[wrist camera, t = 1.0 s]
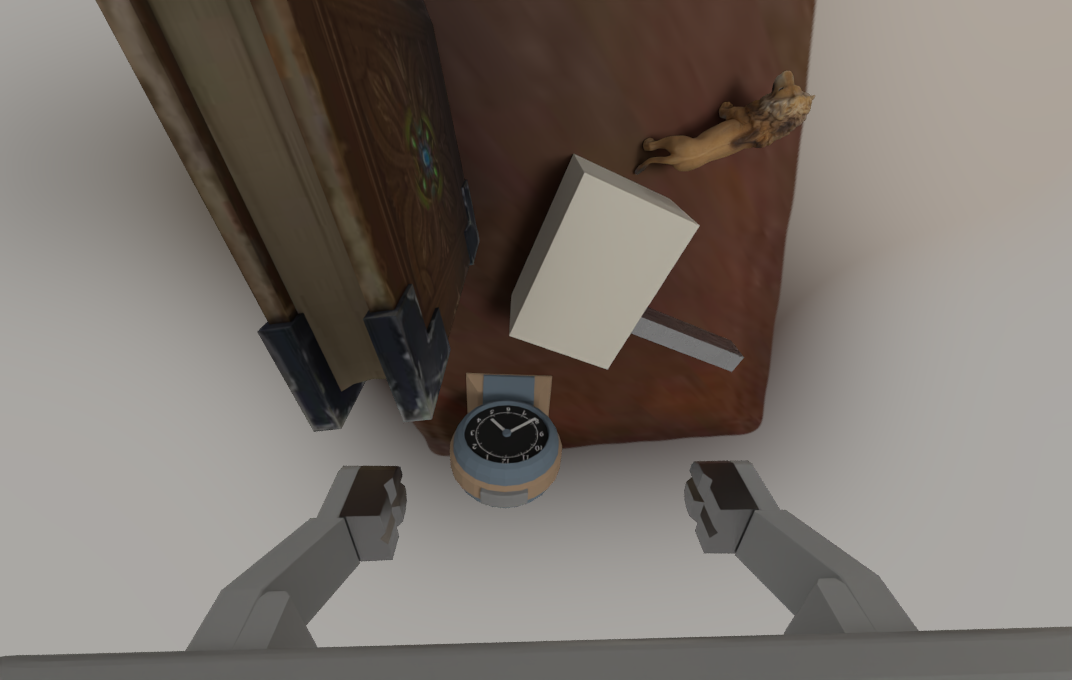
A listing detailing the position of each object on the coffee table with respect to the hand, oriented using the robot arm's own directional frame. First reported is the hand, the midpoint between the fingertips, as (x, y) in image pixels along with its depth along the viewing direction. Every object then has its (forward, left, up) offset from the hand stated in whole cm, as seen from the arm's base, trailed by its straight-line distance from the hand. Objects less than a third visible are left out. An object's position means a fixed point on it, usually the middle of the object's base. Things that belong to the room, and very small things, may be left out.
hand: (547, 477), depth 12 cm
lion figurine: (-11, +15, -41) cm, 45 cm away
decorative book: (+1, -12, -40) cm, 42 cm away
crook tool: (+8, +25, -40) cm, 48 cm away
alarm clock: (+31, +9, -41) cm, 52 cm away
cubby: (+5, +9, -40) cm, 42 cm away
